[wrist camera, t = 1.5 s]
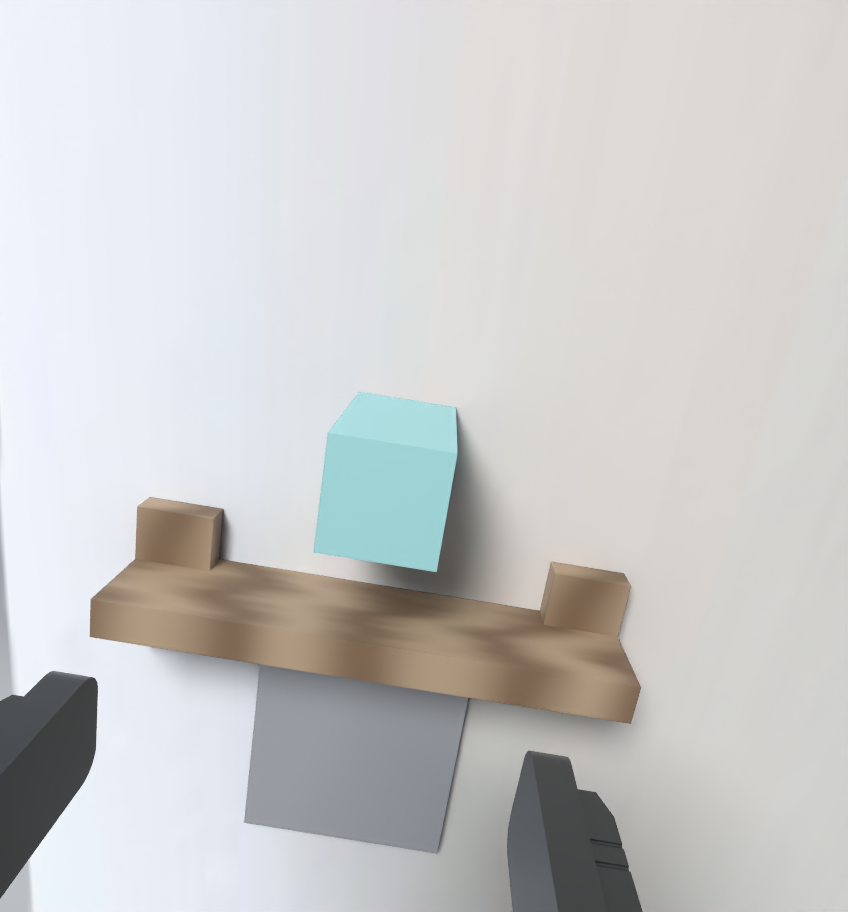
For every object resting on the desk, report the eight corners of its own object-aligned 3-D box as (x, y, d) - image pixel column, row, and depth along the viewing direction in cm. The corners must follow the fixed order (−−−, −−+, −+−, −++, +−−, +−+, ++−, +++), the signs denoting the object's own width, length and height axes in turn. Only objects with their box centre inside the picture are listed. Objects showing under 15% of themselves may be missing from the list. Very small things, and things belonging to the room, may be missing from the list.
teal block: (456, 407, 34) (457, 453, 25) (440, 498, 35) (436, 572, 27) (359, 391, 34) (327, 432, 25) (347, 483, 35) (313, 552, 26)
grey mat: (470, 679, 38) (470, 685, 37) (437, 845, 41) (437, 853, 41) (264, 646, 38) (261, 652, 37) (247, 814, 41) (244, 822, 41)
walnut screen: (623, 573, 36) (656, 630, 30) (590, 699, 38) (616, 775, 32) (150, 497, 36) (91, 540, 30) (144, 627, 38) (89, 690, 32)
